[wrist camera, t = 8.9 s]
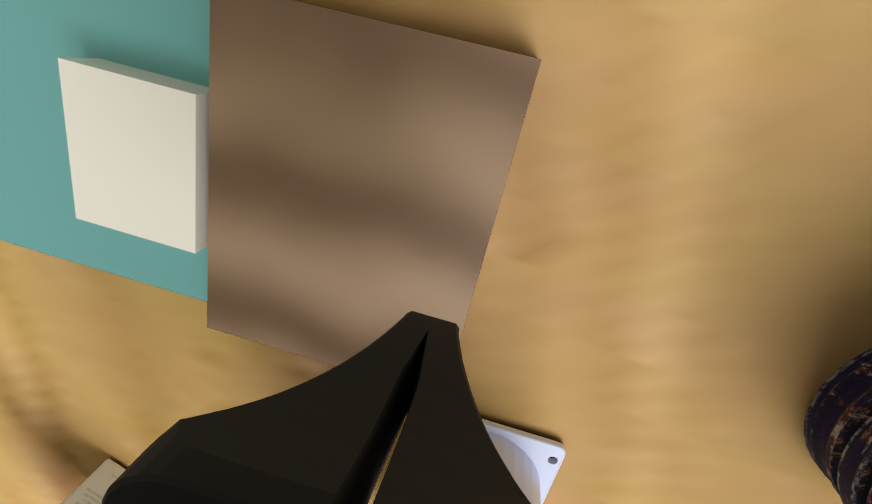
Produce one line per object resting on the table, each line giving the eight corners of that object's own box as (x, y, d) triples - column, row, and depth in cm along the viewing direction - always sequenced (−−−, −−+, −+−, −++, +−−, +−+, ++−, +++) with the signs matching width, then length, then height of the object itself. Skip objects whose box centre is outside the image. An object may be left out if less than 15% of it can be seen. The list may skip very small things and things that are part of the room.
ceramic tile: (222, 238, 22) (195, 253, 20) (111, 206, 23) (76, 218, 21) (226, 91, 19) (195, 94, 18) (100, 58, 20) (57, 57, 18)
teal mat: (229, 301, 24) (223, 306, 24) (6, 234, 25) (-5, 238, 25) (239, -12, 18) (231, -14, 18) (-54, -82, 19) (-71, -86, 19)
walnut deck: (450, 366, 23) (443, 398, 21) (236, 303, 24) (207, 327, 22) (538, 60, 17) (541, 59, 15) (249, -9, 18) (209, -20, 16)
